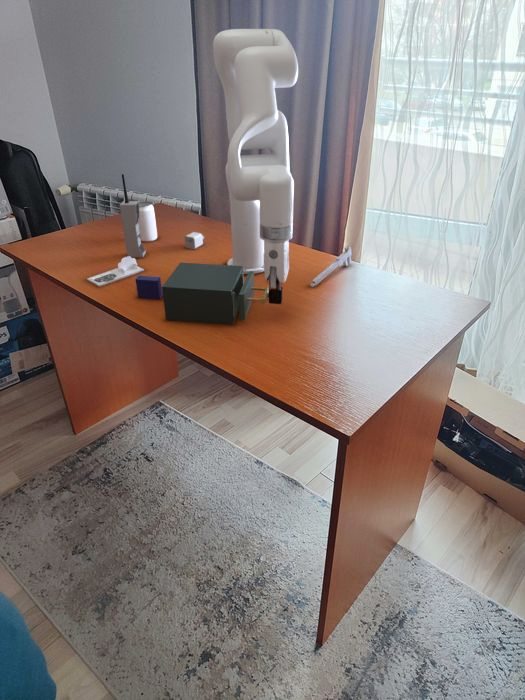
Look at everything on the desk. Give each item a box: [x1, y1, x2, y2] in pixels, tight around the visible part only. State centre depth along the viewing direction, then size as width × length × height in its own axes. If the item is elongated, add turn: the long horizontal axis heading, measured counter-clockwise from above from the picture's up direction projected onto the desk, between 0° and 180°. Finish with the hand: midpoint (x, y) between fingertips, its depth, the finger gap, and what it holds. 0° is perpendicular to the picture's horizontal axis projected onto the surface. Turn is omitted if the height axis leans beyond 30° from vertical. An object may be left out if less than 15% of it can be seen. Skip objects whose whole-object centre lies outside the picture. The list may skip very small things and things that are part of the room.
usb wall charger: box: [184, 231, 206, 250], centre depth 164 cm, size 4×7×4 cm, turn 150°
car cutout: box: [86, 255, 145, 288], centre depth 144 cm, size 15×7×4 cm, turn 137°
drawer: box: [232, 271, 269, 322], centre depth 124 cm, size 20×14×7 cm, turn 81°
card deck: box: [134, 275, 163, 300], centre depth 132 cm, size 6×2×5 cm, turn 81°
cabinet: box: [161, 262, 245, 326], centre depth 125 cm, size 17×15×9 cm
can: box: [138, 200, 158, 243], centre depth 167 cm, size 6×6×12 cm
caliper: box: [309, 245, 353, 288], centre depth 142 cm, size 20×1×6 cm, turn 141°
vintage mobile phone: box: [118, 173, 147, 259], centre depth 151 cm, size 4×5×25 cm
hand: (275, 302), depth 123 cm, fingers closed
